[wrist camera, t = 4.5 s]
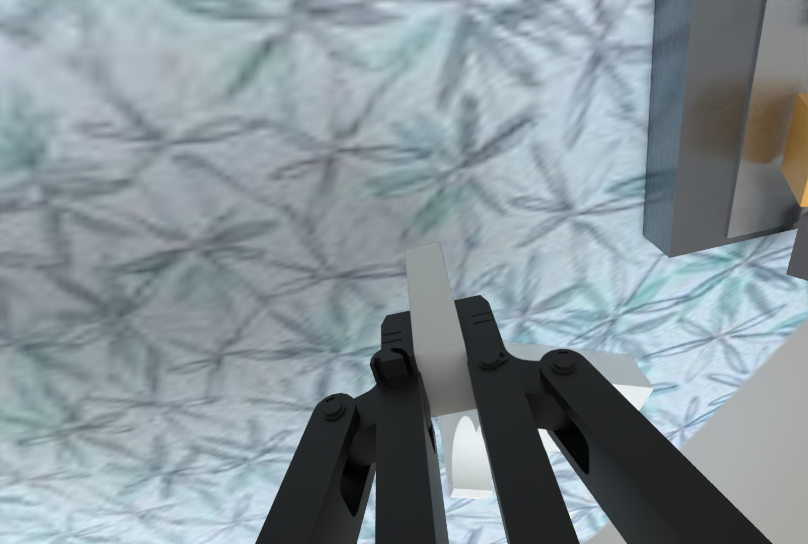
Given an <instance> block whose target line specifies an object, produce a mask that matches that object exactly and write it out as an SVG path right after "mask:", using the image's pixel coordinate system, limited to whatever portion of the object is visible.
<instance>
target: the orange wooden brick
mask: <svg viewBox="0 0 808 544" xmlns="http://www.w3.org/2000/svg"><path fill="white" fill-rule="evenodd" d="M781 171H782V172H783V174H784V176H785V178H786V180H787V182H788V184H789V186H790V188H791V190H792V192H793V194H794V196H795V197H796V199H797V201H798V203H799V205H800V207H808V93H801V94H797V98H796V102H795V107H794V112H793V116H792V121H791V125H790V130H789V134H788V139H787V144H786V148H785V153H784V157H783V162H782V166H781Z"/></svg>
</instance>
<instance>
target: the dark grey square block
mask: <svg viewBox="0 0 808 544" xmlns="http://www.w3.org/2000/svg"><path fill="white" fill-rule="evenodd" d="M787 275H790V276H794V277H797V278H800V279H804V280H807V281H808V211H807V212H806V213H804V214H803V215H802V216H801V220H800V223H799V227H798V231H797V235H796V239H795V243H794V247H793V250H792V254H791V258H790V262H789V266H788V270H787Z"/></svg>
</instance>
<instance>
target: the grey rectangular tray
mask: <svg viewBox="0 0 808 544" xmlns="http://www.w3.org/2000/svg"><path fill="white" fill-rule="evenodd" d="M801 93H808V0H656V3H655V22H654V41H653V60H652V79H651V98H650V117H649V136H648V155H647V174H646V193H645V212H644V231H643V236H645V237H646V238H647V239H648V240H649V241H650V242H652V243H653V244H654V245H655V246H656V247H657V248H658V249H660V250H661V251H662V252H663V253H664V254H665V255H667V256H668V257H669V258H671V257H675V256H679V255H684V254H688V253H692V252H697V251H701V250H706V249H710V248H714V247H719V246H723V245H727V244H732V243H736V242H740V241H745V240H749V239H753V238H758V237H762V236H767V235H771V234H775V233H780V232H784V231H788V230H793V229H797V228H798V227H799V223H800V220H801V216H802V215H803V214H804V213H806V212H807V211H808V207H800V205H799V203H798V201H797V199H796V197H795V196H794V194H793V192H792V190H791V188H790V186H789V184H788V182H787V180H786V178H785V176H784V174H783V172H782V171H781V166H782V162H783V157H784V153H785V148H786V144H787V139H788V134H789V130H790V125H791V121H792V116H793V112H794V107H795V102H796V98H797V94H801Z"/></svg>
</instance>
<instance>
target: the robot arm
mask: <svg viewBox="0 0 808 544" xmlns="http://www.w3.org/2000/svg"><path fill="white" fill-rule="evenodd" d="M404 251H405V261H406V272H407V283H408V293H409V304H410V311H406V312H401V313H396V314H392V315H387V316H386V318H385V319H384V321H383V323H382V325H381V336H382V337H381V344H382V345H381V350H379V351H378V352H376V353H375V355H374V356H373V357H372V358H371V362H370V367H371V369H372V372H373V375H374V378H375V381H376V383H377V384H376V385H375V386H374V387H373V388H372V389H371V390H370V391H368V392H366V393H364V394H363V395H360V396H358V397H356V398H354V399H353V398H352V397H351V396H349V395H348V394H343V393H338V394H332V395H330V396H328V397H326V398H324V399H323V400H322V401H321V402H319V403H318V405H317V406H316V408H315V409H314V411H313V413H312V415H311V418H310V420H309V422H308V425H307V427H306V429H305V431H304V434H303V436H302V438H301V440H300V443H299V445H298V447H297V450H296V452H295V454H294V456H293V459H292V461H291V463H290V466H289V468H288V470H287V472H286V475H285V477H284V479H283V482H282V484H281V486H280V488H279V491H278V493H277V495H276V497H275V500H274V502H273V504H272V507H271V509H270V511H269V513H268V516H267V518H266V520H265V523H264V525H263V527H262V529H261V532H260V534H259V536H258V539H257V541H256V543H255V544H357V540H358V537H359V533H360V529H361V525H362V521H363V517H364V514H365V510H366V506H367V502H368V498H369V494H370V491H371V487H372V483H373V479H374V475H375V471H376V522H375V544H449V540H448V532H447V525H446V517H445V509H444V501H443V493H442V486H441V478H440V470H439V462H438V454H437V447H436V439H435V431H434V428H433V424H432V420H431V416H432V417H436V416H442V415H447V414H452V413H458V412H463V411H468V410H473V409H477V412H478V417H479V422H480V427H481V432H482V437H483V439H484V444H485V448H486V452H487V457H488V461H489V465H490V470H491V474H492V478H493V482H494V487H495V491H496V495H497V500H498V504H499V508H500V513H501V517H502V521H503V526H504V530H505V534H506V538H507V543H508V544H580V543H579V541H578V538H577V535H576V532H575V530H574V527H573V524H572V521H571V519H570V516H569V513H568V510H567V508H566V505H565V502H564V500H563V497H562V494H561V491H560V489H559V486H558V483H557V480H556V478H555V475H554V472H553V469H552V467H551V464H550V461H549V459H548V456H547V453H546V450H545V448H544V445H543V442H542V439H541V437H540V434H539V431H538V429H545V430H546V431H547V433H548V434H549V436H550V437H551V439H552V440H553V441H554V443H555V444H556V446H557V447H558V448H559V450H560V451H561V452H562V454H563V455H564V457H565V458H566V459H567V461H568V462H569V464H570V465H571V466H572V468H573V469H574V471H575V472H576V473H577V475H578V476H579V477H580V479H581V480H582V482H583V483H584V484H585V486H586V487H587V489H588V490H589V491H590V493H591V494H592V495H593V497H594V498H595V500H596V501H597V502H598V504H599V505H600V507H601V508H602V509H603V511H604V512H605V514H606V515H607V516H608V518H609V519H610V520H611V522H612V523H613V525H614V526H615V527H616V529H617V530H618V531H619V533H620V534H621V536H622V537H623V539H624V540H625V541H626V543H627V544H772V543H771V542H770V541H769V540H768V539H767V538H766V537H765V536H764V535H763V534H762V533H761V532H760V531H759V530H758V529H757V528H756V527H755V526H754V525H753V524H752V523H751V522H750V521H749V520H748V519H747V518H746V517H745V516H744V515H743V514H742V513H741V512H740V511H739V510H738V509H737V508H736V507H735V506H734V505H733V504H732V503H731V502H730V501H729V500H728V499H727V498H726V497H725V496H724V495H723V494H722V493H721V492H720V491H719V490H718V489H717V488H716V487H715V486H714V485H713V484H712V483H711V482H710V481H709V480H707V478H706V477H705V476H704V475H703V474H702V473H701V472H700V471H699V470H698V469H696V467H695V466H694V465H692V463H691V462H690V461H689V460H688V459H687V458H686V457H685V456H683V454H682V453H681V452H680V451H679V450H678V449H677V448H676V447H675V446H674V445H673V444H672V443H671V442H670V441H669V440H668V439H667V438H666V437H665V436H664V435H662V434H661V433H660V432H659V431H658V430H657V429H656V428H655V427H654V426H653V425H652V424H651V423H650V422H649V421H648V420H647V419H646V418H645V417H644V416H643V415H642V414H641V413H640V412H639V411H638V410H637V409H636V408H635V407H634V406H633V405H632V404H631V403H630V402H629V401H628V400H627V399H626V398H625V397H624V396H623V395H622V394H621V393H620V392H619V391H618V390H617V389H616V388H615V387H614V386H613V385H612V384H611V383H610V382H609V381H608V380H607V379H606V378H605V377H604V376H603V375H602V374H601V373H600V372H599V371H598V370H597V369H596V368H595V367H594V366H593V365H592V364H591V363H590V362H589V361H588V360H587V359H586V358H585V357H584V356H582V355H581V354H580V353H578V352H576V351H573V350H570V349H556V350H551V351H549V352H547V353H546V354H544V355H543V356H542V358H541V359H540V361H531V360H523V359H520V358H516V357H515V356H513V355H511V354H510V353H509V352H508V351H507V350H506V348H505V346H504V343H503V341H502V338H501V335H500V332H499V330H498V327H497V324H496V321H495V319H494V316H493V313H492V310H491V307H490V305H489V302H488V301H487V300H485V299H484V298H483V297H482V296H481V295H478V296H473V297H468V298H464V299H459V300H454V299H453V295H452V291H451V287H450V283H449V279H448V275H447V271H446V267H445V262H444V258H443V254H442V250H441V246H440V242H436V243H432V244H427V245H423V246H418V247H414V248H409V249H405V250H404Z"/></svg>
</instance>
